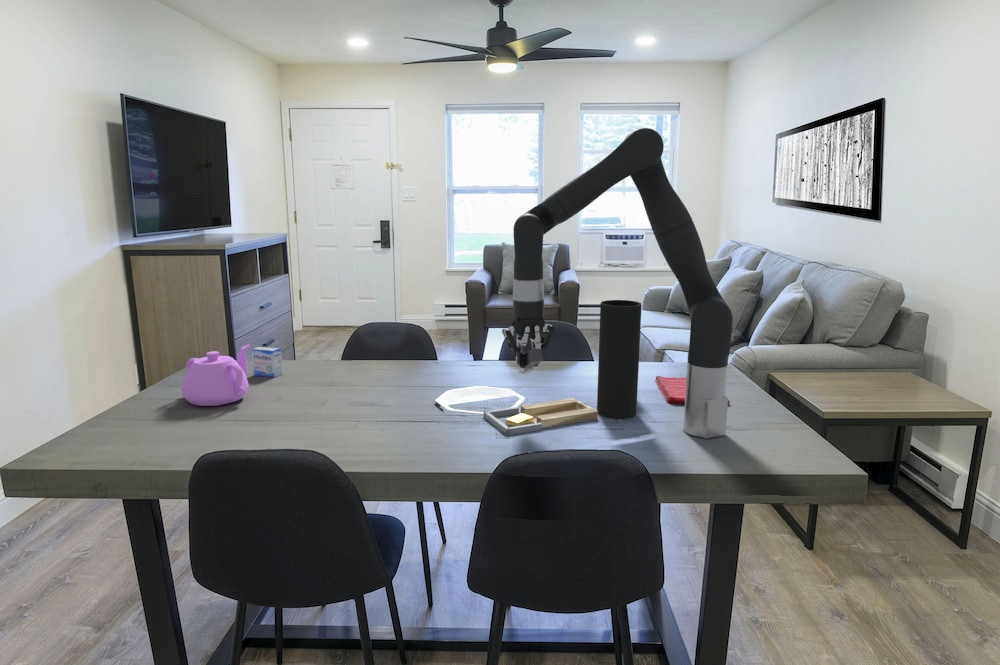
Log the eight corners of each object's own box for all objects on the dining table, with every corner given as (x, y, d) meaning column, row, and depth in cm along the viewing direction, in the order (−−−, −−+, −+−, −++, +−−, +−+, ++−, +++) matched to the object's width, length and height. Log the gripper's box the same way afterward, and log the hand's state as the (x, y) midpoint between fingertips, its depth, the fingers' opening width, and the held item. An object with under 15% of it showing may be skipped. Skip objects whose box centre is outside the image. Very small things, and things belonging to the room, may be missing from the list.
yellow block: (533, 424, 165) (533, 416, 164) (525, 427, 163) (525, 419, 162) (521, 420, 168) (521, 413, 167) (513, 423, 165) (513, 415, 165)
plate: (425, 398, 188) (425, 393, 188) (499, 387, 199) (499, 382, 198) (458, 423, 168) (458, 418, 167) (538, 410, 178) (538, 404, 178)
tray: (542, 433, 160) (542, 423, 159) (506, 439, 156) (506, 429, 156) (517, 415, 172) (517, 406, 172) (483, 420, 169) (483, 411, 168)
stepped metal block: (529, 372, 166) (544, 363, 158) (518, 374, 165) (532, 364, 157) (525, 355, 167) (539, 345, 159) (514, 357, 166) (528, 346, 158)
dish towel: (667, 406, 182) (668, 397, 181) (653, 382, 205) (654, 374, 204) (730, 407, 181) (731, 398, 180) (709, 383, 204) (709, 375, 203)
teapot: (280, 392, 192) (277, 346, 189) (221, 414, 173) (216, 363, 170) (225, 383, 201) (221, 339, 198) (162, 403, 182) (157, 354, 179)
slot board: (597, 422, 167) (598, 411, 167) (542, 431, 161) (542, 419, 160) (573, 408, 178) (573, 397, 178) (520, 416, 172) (520, 405, 171)
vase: (622, 408, 179) (627, 299, 172) (643, 420, 169) (649, 305, 163) (589, 412, 175) (593, 301, 169) (609, 425, 166) (613, 307, 159)
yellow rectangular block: (525, 427, 163) (525, 419, 162) (517, 430, 160) (517, 422, 160) (513, 423, 165) (513, 416, 165) (505, 426, 163) (505, 419, 163)
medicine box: (253, 375, 210) (251, 349, 208) (262, 372, 214) (260, 346, 212) (274, 377, 207) (272, 350, 205) (283, 373, 211) (281, 347, 210)
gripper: (508, 302, 153) (509, 373, 157) (561, 297, 159) (560, 366, 162) (495, 297, 160) (496, 366, 163) (546, 293, 165) (546, 360, 169)
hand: (528, 366), depth 163 cm, fingers closed on stepped metal block, 3 cm apart
